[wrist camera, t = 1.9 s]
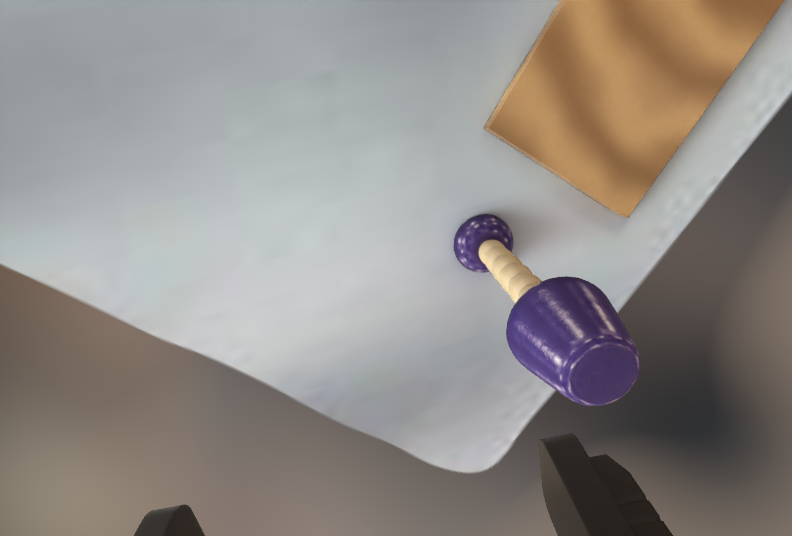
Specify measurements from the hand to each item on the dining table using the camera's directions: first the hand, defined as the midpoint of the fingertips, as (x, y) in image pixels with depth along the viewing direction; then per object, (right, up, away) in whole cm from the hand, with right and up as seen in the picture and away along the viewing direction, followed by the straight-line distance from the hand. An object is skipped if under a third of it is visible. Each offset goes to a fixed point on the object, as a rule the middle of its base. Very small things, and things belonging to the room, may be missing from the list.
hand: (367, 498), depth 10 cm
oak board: (+17, +20, +18) cm, 32 cm away
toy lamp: (+7, +7, +21) cm, 23 cm away
